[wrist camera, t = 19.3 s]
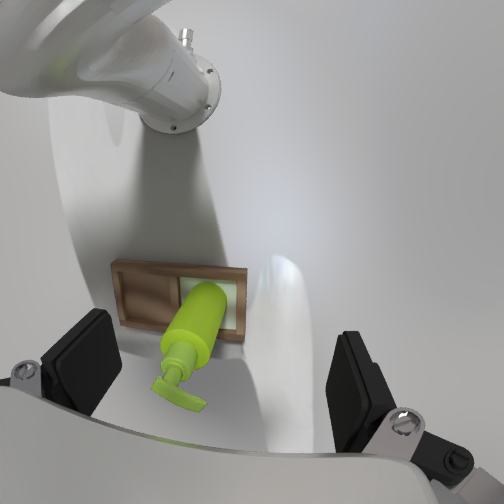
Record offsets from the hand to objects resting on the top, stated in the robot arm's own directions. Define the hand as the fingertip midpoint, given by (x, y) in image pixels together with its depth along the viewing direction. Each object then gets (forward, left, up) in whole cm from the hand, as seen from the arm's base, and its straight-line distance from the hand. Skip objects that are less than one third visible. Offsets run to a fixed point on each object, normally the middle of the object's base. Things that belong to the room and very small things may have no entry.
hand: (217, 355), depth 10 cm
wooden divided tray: (+13, -12, -30) cm, 35 cm away
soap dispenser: (+13, -6, -29) cm, 33 cm away
